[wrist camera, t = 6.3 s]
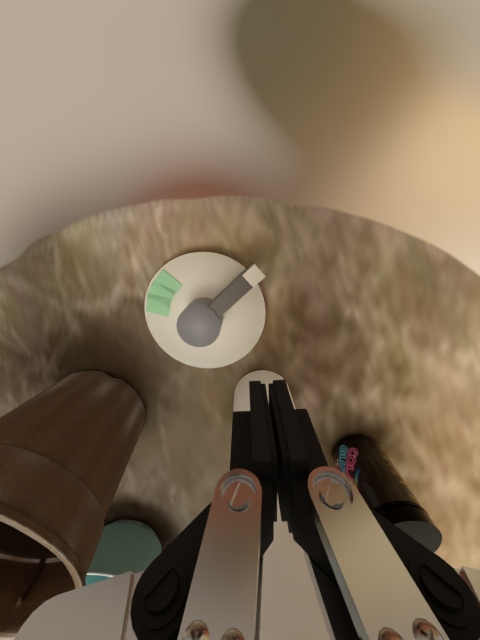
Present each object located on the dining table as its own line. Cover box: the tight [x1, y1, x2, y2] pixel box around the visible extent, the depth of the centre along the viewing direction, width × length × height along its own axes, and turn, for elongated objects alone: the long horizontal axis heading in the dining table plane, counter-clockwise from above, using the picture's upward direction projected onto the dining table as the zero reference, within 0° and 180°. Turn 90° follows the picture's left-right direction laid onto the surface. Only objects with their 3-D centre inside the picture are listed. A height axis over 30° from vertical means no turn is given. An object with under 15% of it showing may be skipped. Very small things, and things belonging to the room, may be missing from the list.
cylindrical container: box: [233, 370, 330, 640], centre depth 17 cm, size 7×7×25 cm
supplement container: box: [333, 434, 442, 553], centre depth 26 cm, size 7×7×10 cm
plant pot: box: [0, 370, 146, 637], centre depth 22 cm, size 16×16×16 cm
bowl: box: [85, 520, 162, 585], centre depth 34 cm, size 16×16×8 cm
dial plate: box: [145, 252, 266, 368], centre depth 24 cm, size 13×13×2 cm
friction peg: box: [176, 262, 266, 347], centre depth 21 cm, size 10×4×4 cm, turn 133°
